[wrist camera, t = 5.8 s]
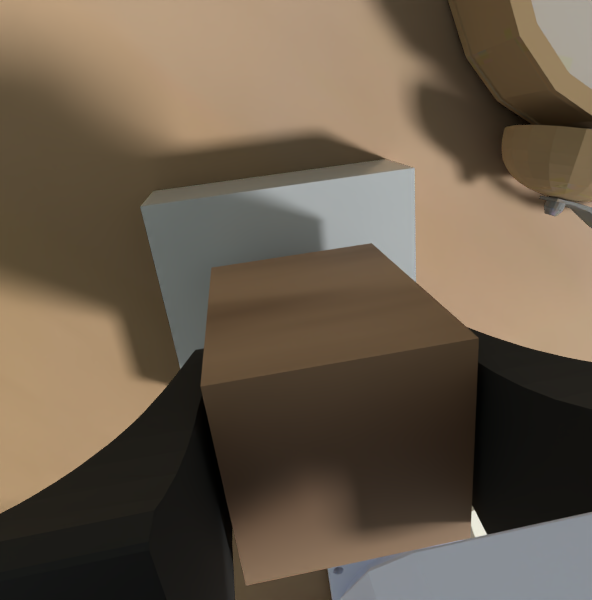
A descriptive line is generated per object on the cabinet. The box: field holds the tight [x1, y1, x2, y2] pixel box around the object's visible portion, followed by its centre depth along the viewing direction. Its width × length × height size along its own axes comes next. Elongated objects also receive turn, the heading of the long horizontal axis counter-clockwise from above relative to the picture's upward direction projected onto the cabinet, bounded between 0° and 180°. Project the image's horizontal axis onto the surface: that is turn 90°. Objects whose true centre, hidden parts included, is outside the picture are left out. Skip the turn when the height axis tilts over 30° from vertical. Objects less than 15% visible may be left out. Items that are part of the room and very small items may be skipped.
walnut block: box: [200, 243, 479, 586], centre depth 11 cm, size 4×4×6 cm
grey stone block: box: [140, 159, 416, 369], centre depth 16 cm, size 8×8×3 cm
